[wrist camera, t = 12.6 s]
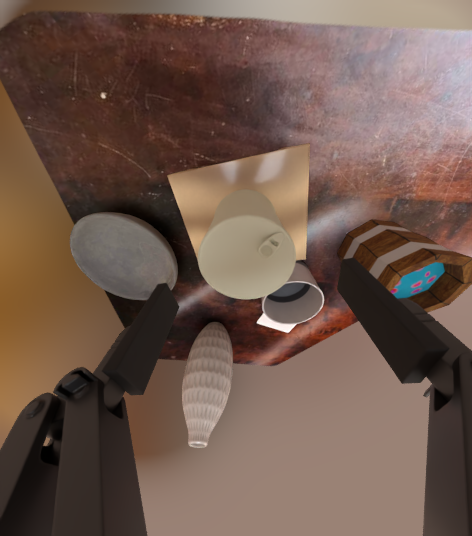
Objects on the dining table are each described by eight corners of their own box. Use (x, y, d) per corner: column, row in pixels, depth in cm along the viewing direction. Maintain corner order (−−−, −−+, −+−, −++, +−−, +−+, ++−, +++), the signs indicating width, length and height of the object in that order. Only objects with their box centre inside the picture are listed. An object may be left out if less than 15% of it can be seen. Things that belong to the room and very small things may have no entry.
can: (289, 221, 25) (319, 266, 15) (245, 260, 29) (246, 315, 19) (244, 173, 22) (246, 189, 12) (201, 223, 26) (176, 267, 16)
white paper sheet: (309, 310, 52) (311, 314, 51) (288, 332, 58) (289, 336, 57) (274, 298, 50) (275, 302, 49) (256, 323, 56) (256, 326, 55)
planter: (274, 246, 41) (283, 271, 32) (318, 266, 44) (337, 294, 35) (250, 284, 47) (251, 314, 39) (289, 299, 50) (299, 330, 41)
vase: (204, 341, 63) (182, 453, 39) (190, 318, 56) (153, 437, 32) (238, 336, 60) (236, 452, 37) (228, 311, 54) (217, 434, 30)
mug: (337, 227, 38) (384, 264, 25) (408, 210, 35) (497, 242, 23) (335, 293, 48) (368, 342, 36) (390, 283, 46) (445, 332, 33)
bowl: (202, 240, 41) (194, 257, 34) (166, 293, 50) (154, 314, 44) (109, 181, 34) (77, 188, 28) (88, 255, 44) (61, 273, 37)
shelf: (190, 168, 33) (167, 175, 23) (287, 146, 30) (309, 143, 20) (212, 244, 41) (202, 273, 31) (289, 232, 39) (305, 259, 29)
